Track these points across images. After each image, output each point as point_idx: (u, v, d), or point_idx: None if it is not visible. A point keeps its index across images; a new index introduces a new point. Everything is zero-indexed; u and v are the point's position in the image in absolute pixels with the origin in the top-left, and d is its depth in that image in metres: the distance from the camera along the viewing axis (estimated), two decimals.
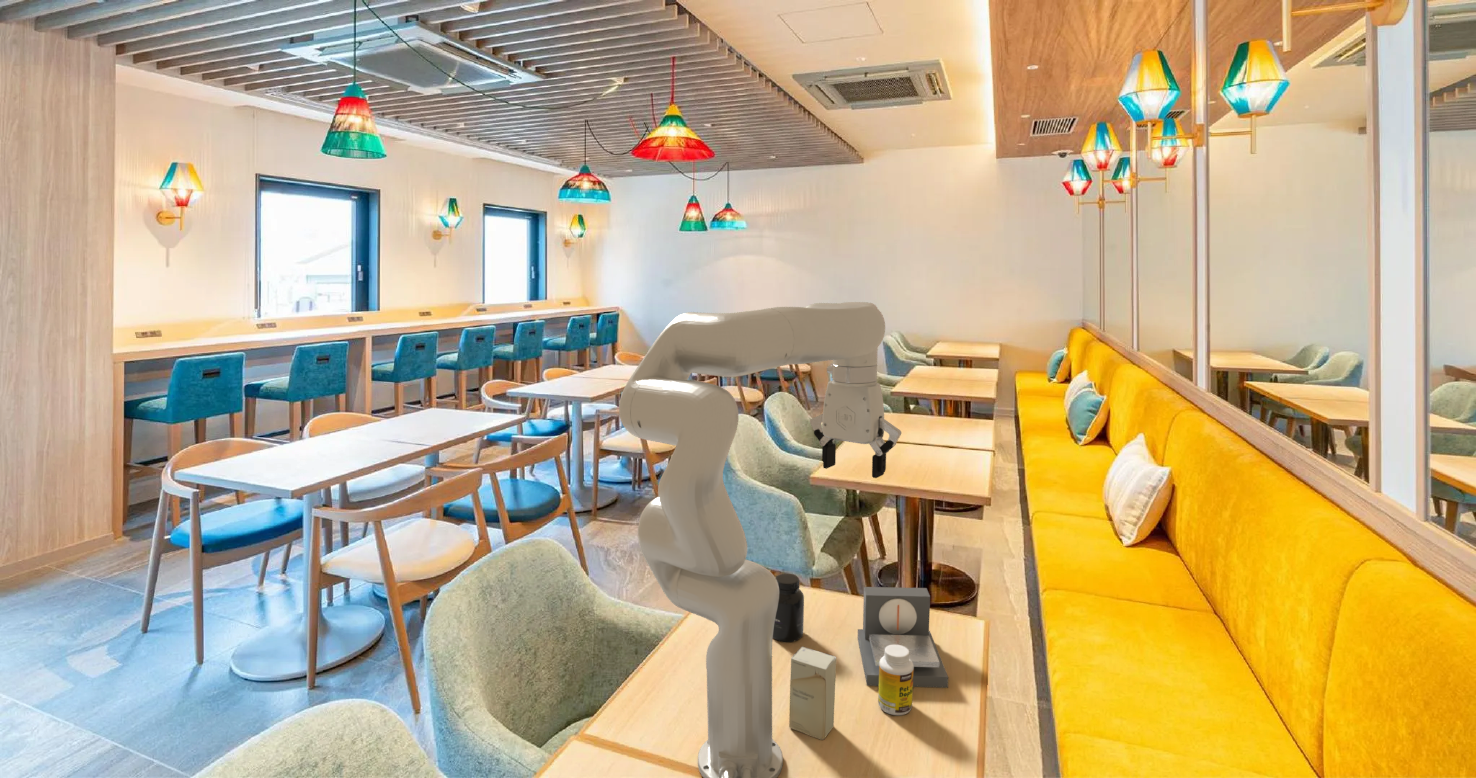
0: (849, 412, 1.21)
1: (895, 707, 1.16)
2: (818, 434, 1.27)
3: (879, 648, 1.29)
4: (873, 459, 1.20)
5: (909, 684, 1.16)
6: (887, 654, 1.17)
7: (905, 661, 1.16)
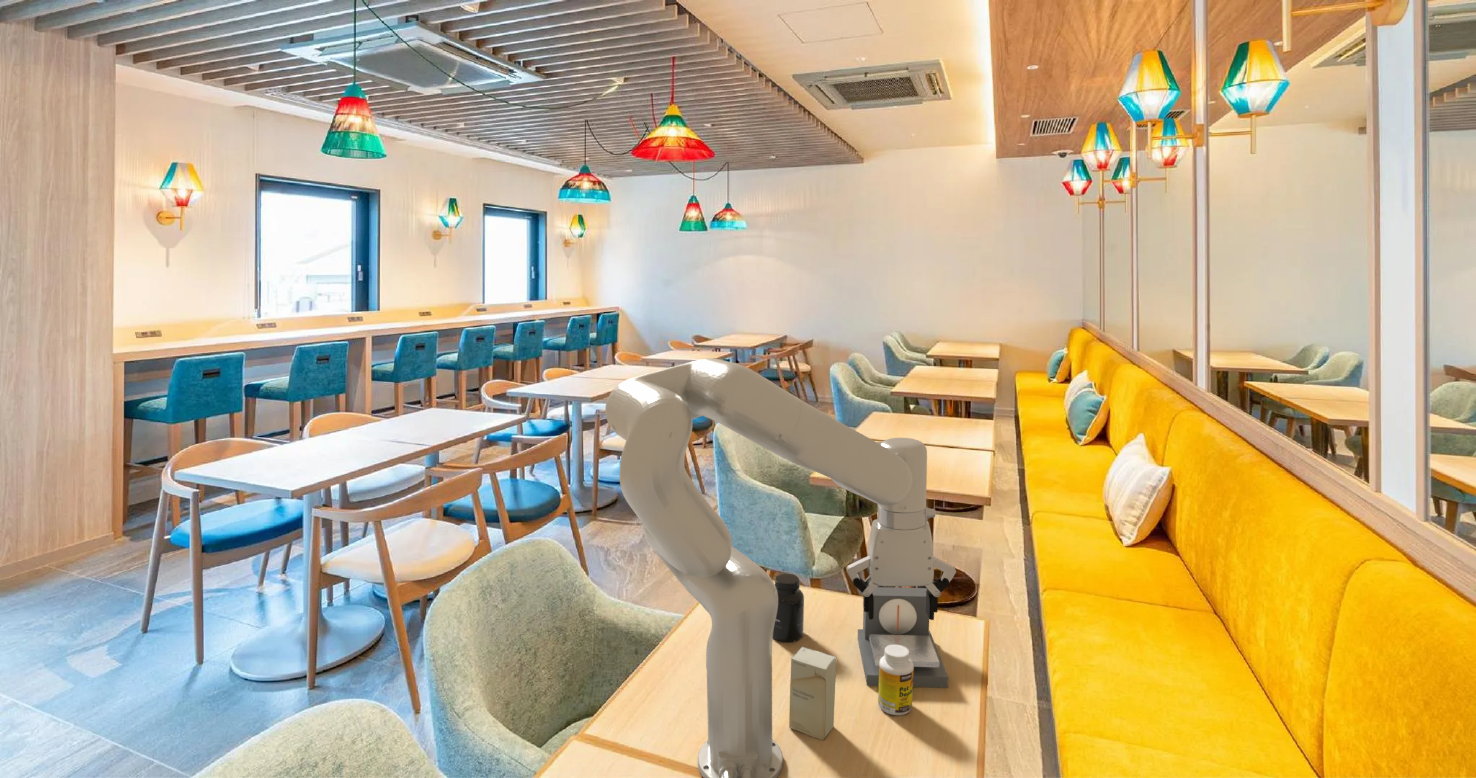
0: None
1: (895, 707, 1.16)
2: None
3: (879, 648, 1.29)
4: None
5: (909, 684, 1.16)
6: (887, 654, 1.17)
7: (905, 661, 1.16)
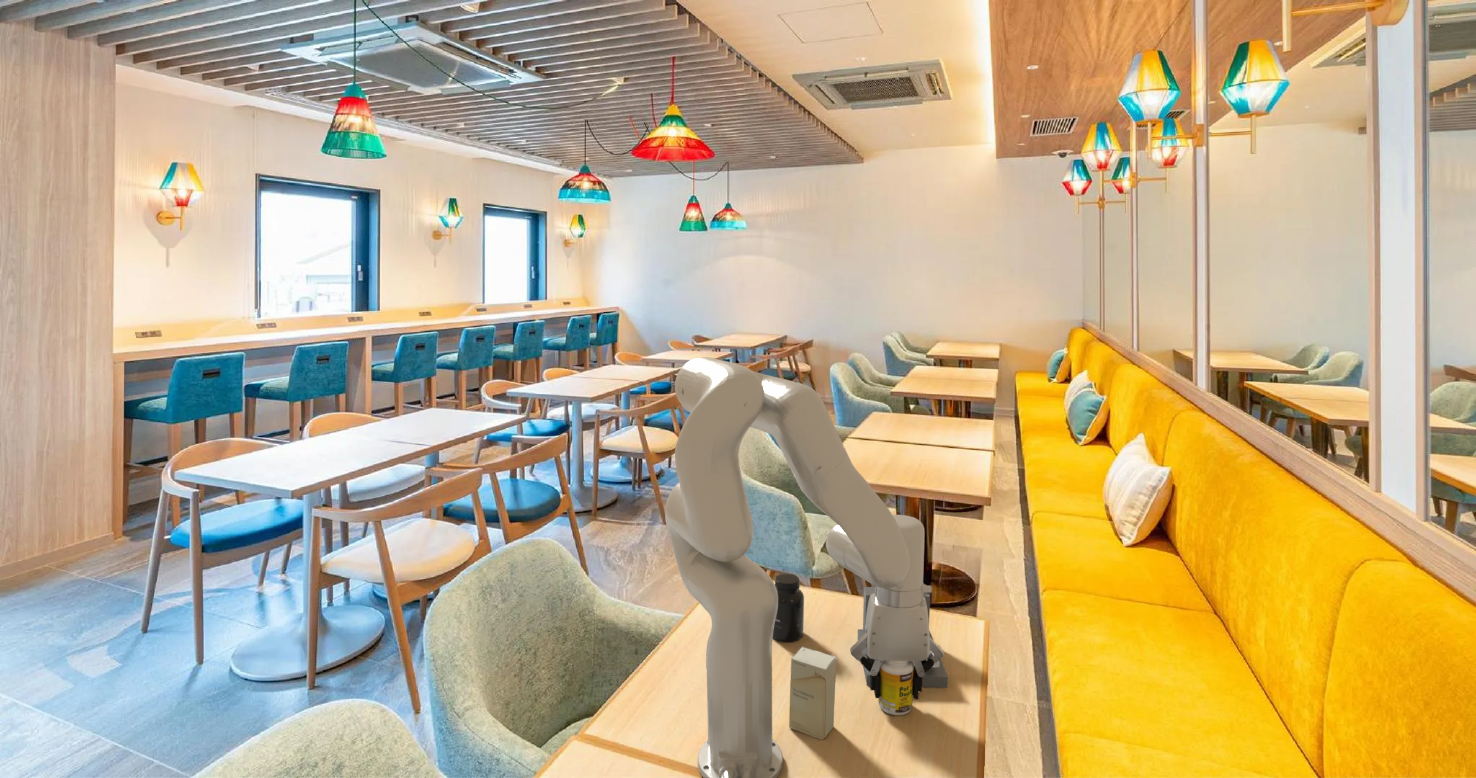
0: None
1: (895, 707, 1.16)
2: (925, 659, 1.18)
3: None
4: None
5: (909, 684, 1.16)
6: None
7: (905, 661, 1.16)
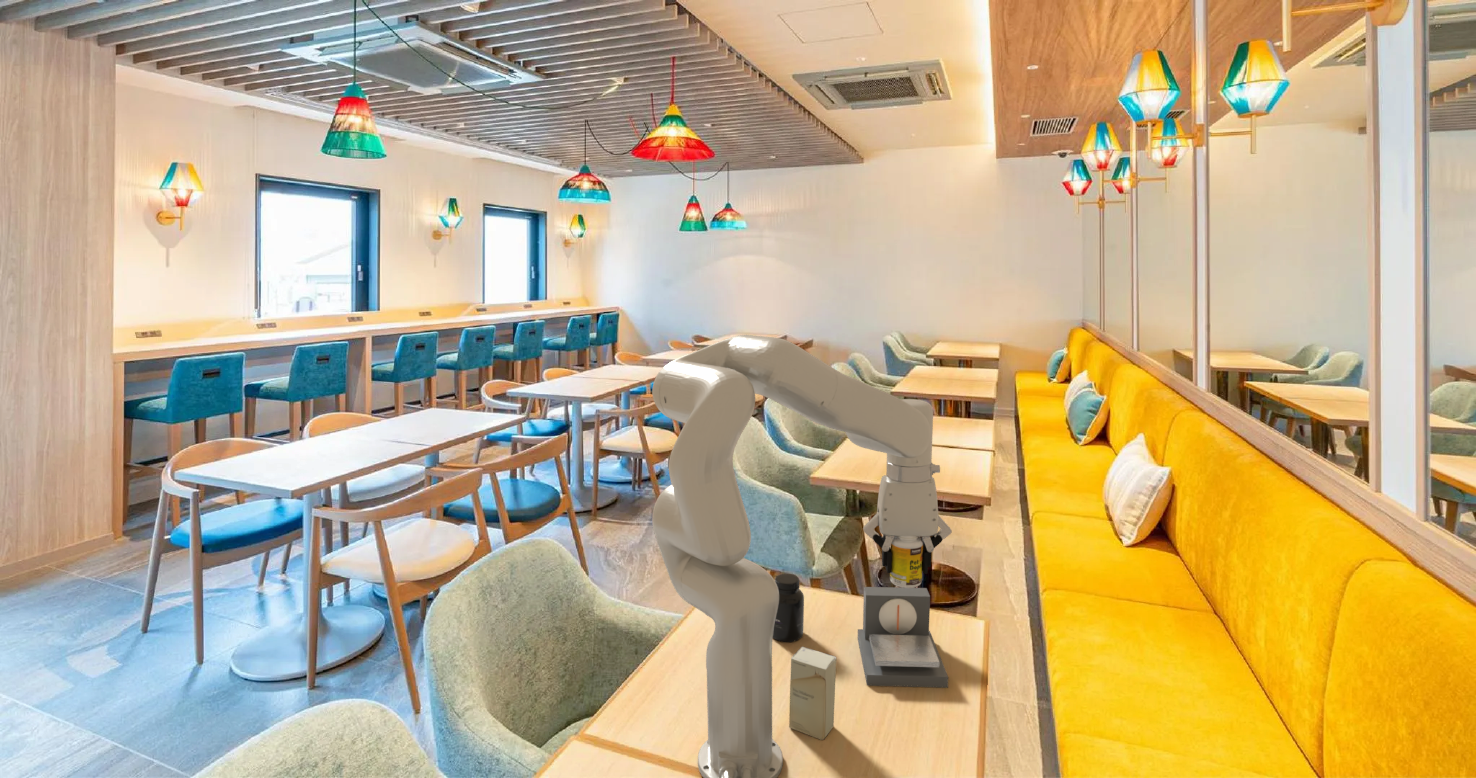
0: None
1: (905, 579, 1.23)
2: None
3: (879, 648, 1.29)
4: None
5: (919, 558, 1.23)
6: None
7: (915, 536, 1.23)
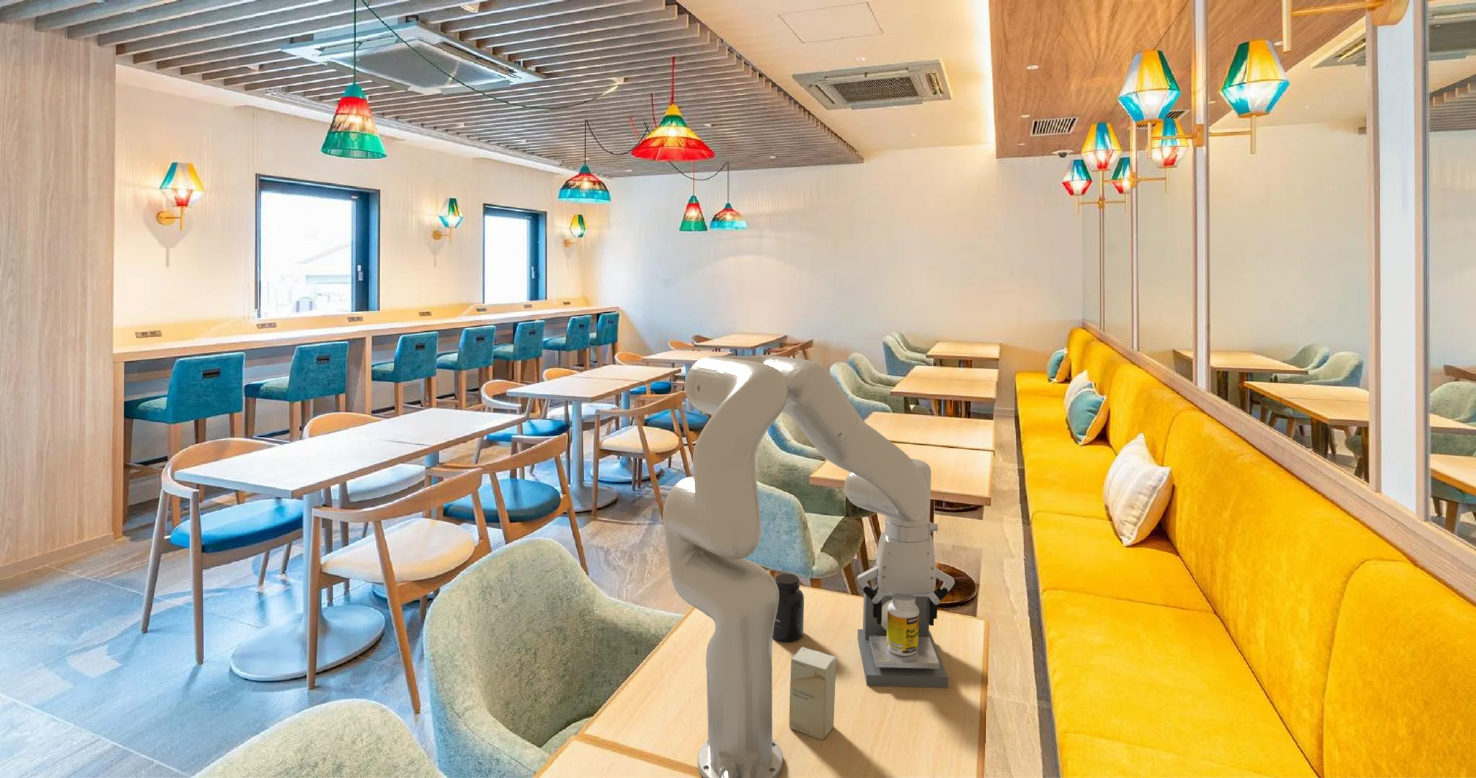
0: None
1: (902, 648, 1.26)
2: None
3: (879, 649, 1.29)
4: None
5: (915, 627, 1.26)
6: (895, 599, 1.26)
7: (911, 605, 1.26)
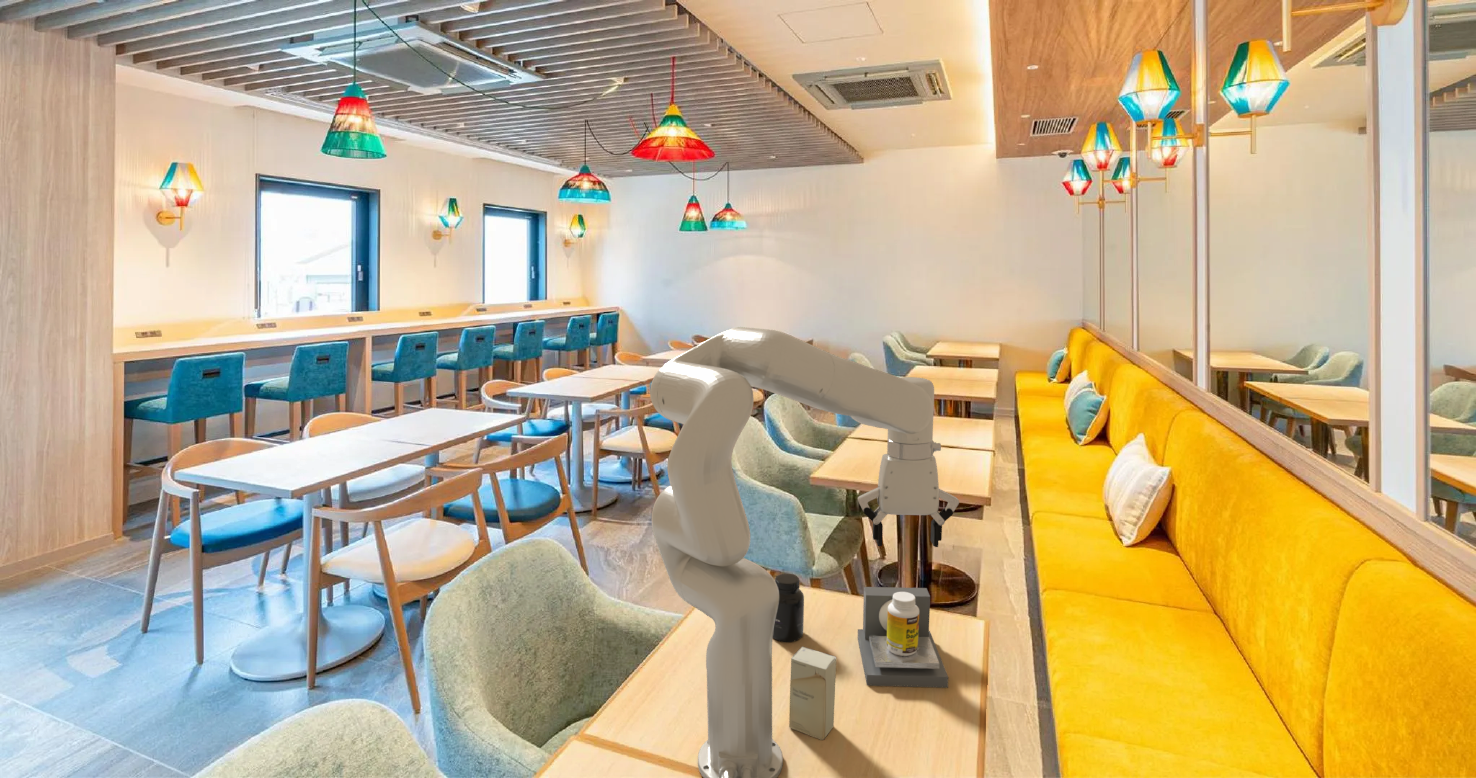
0: None
1: (902, 648, 1.26)
2: (945, 510, 1.25)
3: (879, 649, 1.29)
4: None
5: (915, 627, 1.26)
6: (895, 599, 1.26)
7: (911, 605, 1.26)
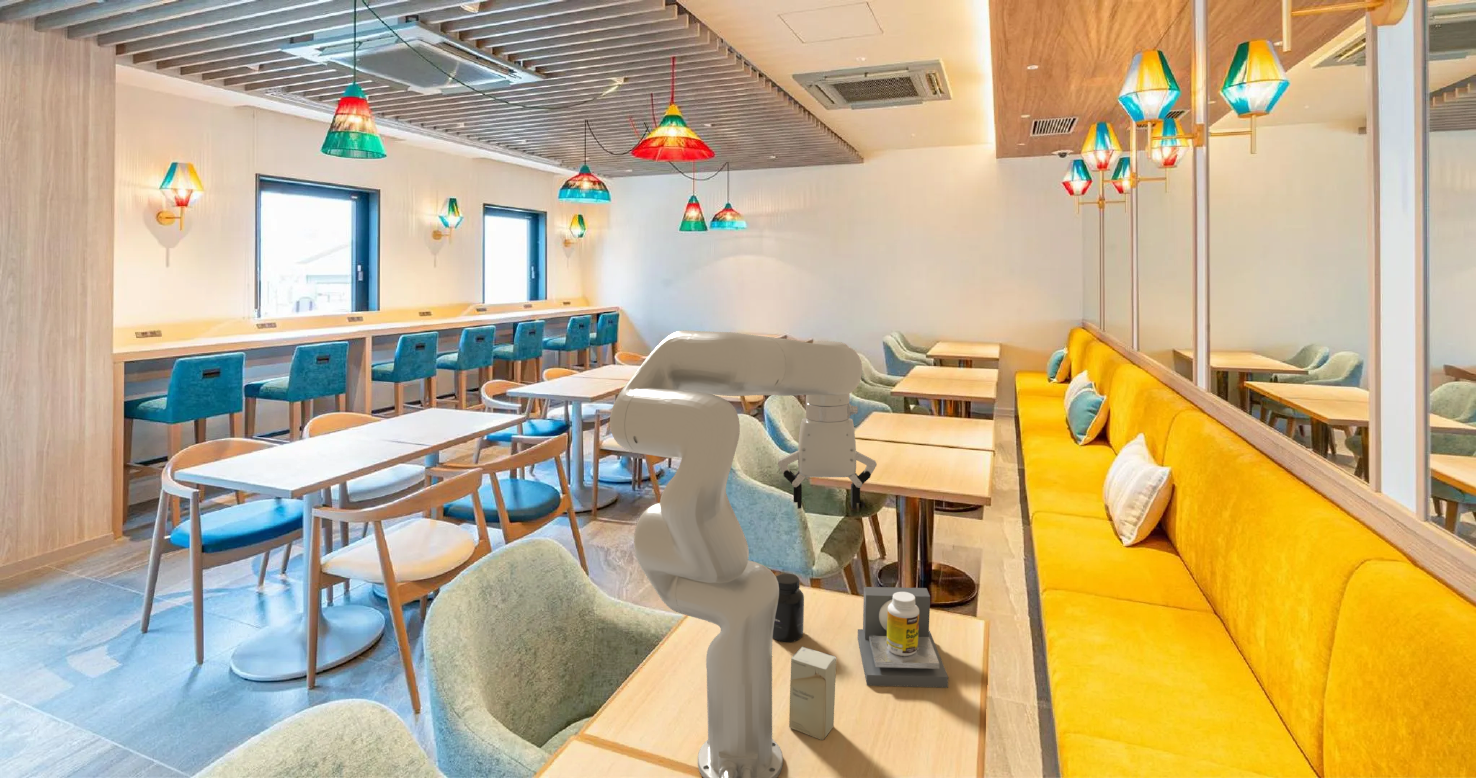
0: None
1: (902, 648, 1.26)
2: None
3: (879, 649, 1.29)
4: None
5: (915, 627, 1.26)
6: (895, 599, 1.26)
7: (911, 605, 1.26)
